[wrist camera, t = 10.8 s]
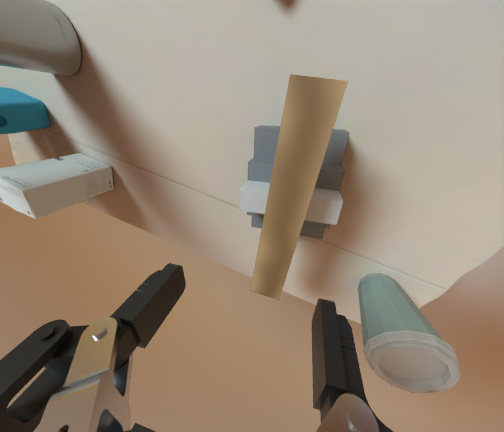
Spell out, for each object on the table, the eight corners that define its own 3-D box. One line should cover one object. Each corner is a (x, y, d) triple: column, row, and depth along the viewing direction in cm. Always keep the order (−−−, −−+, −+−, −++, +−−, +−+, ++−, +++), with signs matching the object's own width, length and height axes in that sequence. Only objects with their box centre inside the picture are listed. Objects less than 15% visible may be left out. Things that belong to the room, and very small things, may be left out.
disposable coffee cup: (337, 277, 39) (349, 357, 26) (391, 254, 33) (441, 341, 21) (367, 309, 41) (393, 398, 28) (424, 292, 35) (487, 393, 23)
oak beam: (257, 270, 29) (250, 290, 26) (294, 81, 17) (290, 74, 14) (282, 277, 29) (278, 299, 25) (340, 87, 16) (348, 81, 13)
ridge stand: (256, 216, 37) (240, 249, 28) (261, 125, 29) (239, 131, 20) (320, 226, 34) (324, 265, 26) (344, 129, 27) (361, 139, 18)
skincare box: (112, 165, 41) (24, 190, 28) (115, 190, 44) (36, 221, 31) (79, 151, 41) (-23, 169, 29) (84, 176, 44) (-6, 202, 32)
